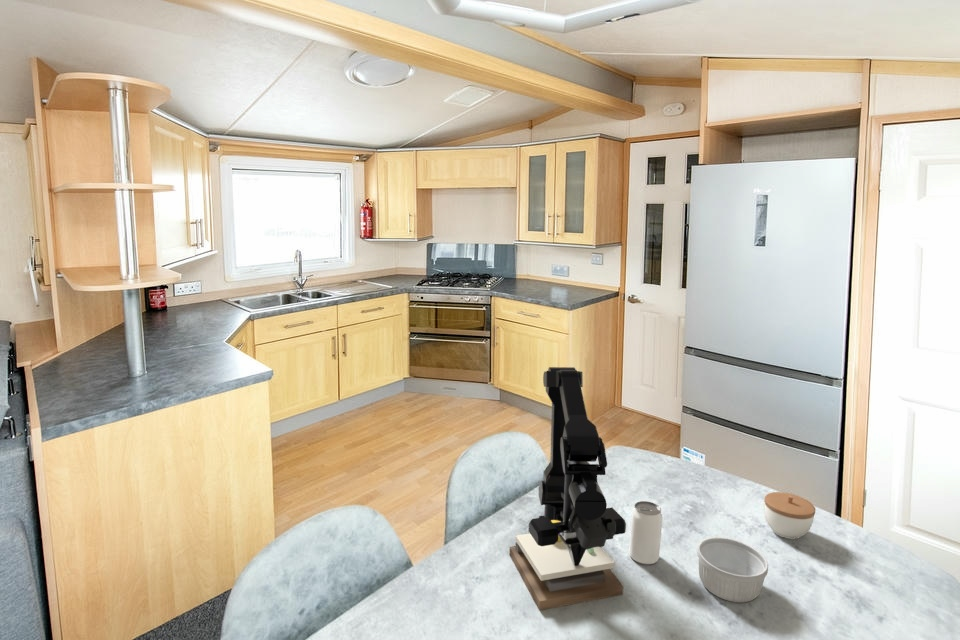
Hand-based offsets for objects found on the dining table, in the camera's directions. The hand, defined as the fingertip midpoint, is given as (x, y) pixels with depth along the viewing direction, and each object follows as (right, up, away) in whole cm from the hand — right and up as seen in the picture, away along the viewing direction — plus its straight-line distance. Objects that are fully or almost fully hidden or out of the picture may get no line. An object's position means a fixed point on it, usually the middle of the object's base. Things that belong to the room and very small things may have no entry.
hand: (575, 564), depth 112 cm
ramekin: (+32, -6, +4) cm, 33 cm away
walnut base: (-2, -5, +6) cm, 8 cm away
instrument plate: (-2, 0, +6) cm, 6 cm away
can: (+17, -4, +13) cm, 22 cm away
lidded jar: (+55, -2, +23) cm, 60 cm away
